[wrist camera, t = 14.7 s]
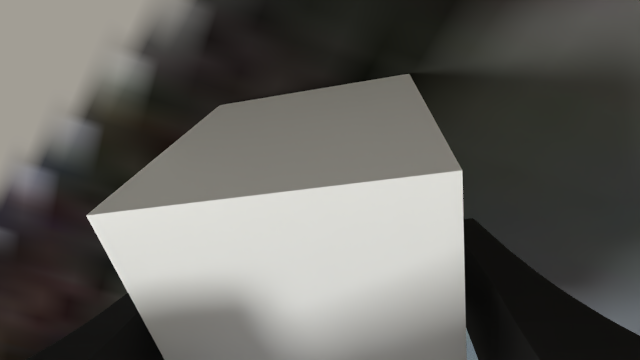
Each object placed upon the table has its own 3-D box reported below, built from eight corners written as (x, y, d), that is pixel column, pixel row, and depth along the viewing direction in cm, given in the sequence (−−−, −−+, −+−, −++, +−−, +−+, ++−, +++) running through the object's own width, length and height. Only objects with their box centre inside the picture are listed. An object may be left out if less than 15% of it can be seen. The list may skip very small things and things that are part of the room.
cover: (283, 309, 16) (237, 495, 10) (220, 105, 12) (86, 215, 6) (427, 300, 15) (469, 501, 9) (409, 73, 11) (462, 170, 5)
